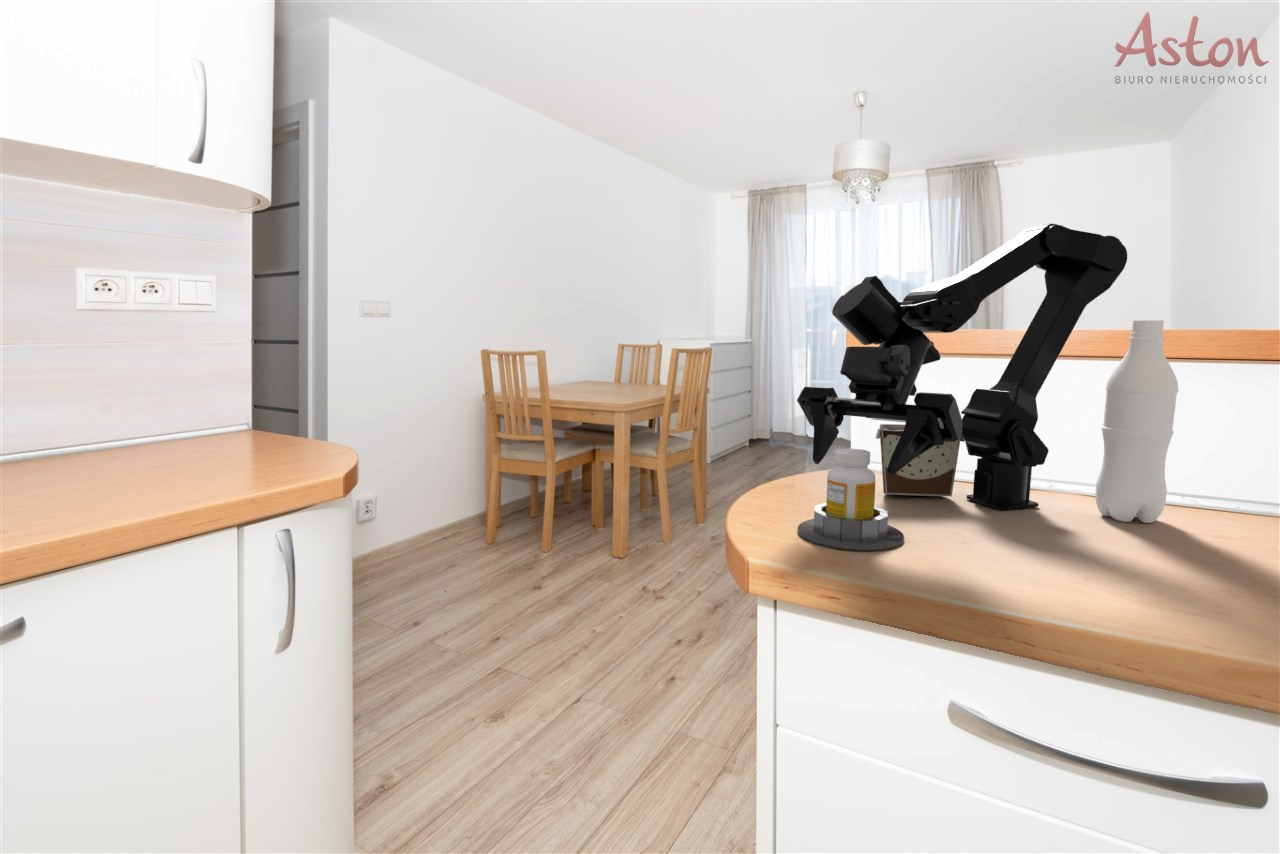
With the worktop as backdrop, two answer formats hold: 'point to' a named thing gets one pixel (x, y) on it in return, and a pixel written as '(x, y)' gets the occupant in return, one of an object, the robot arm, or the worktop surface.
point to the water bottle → (1137, 429)
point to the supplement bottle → (851, 485)
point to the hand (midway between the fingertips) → (850, 467)
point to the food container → (919, 466)
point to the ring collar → (851, 531)
